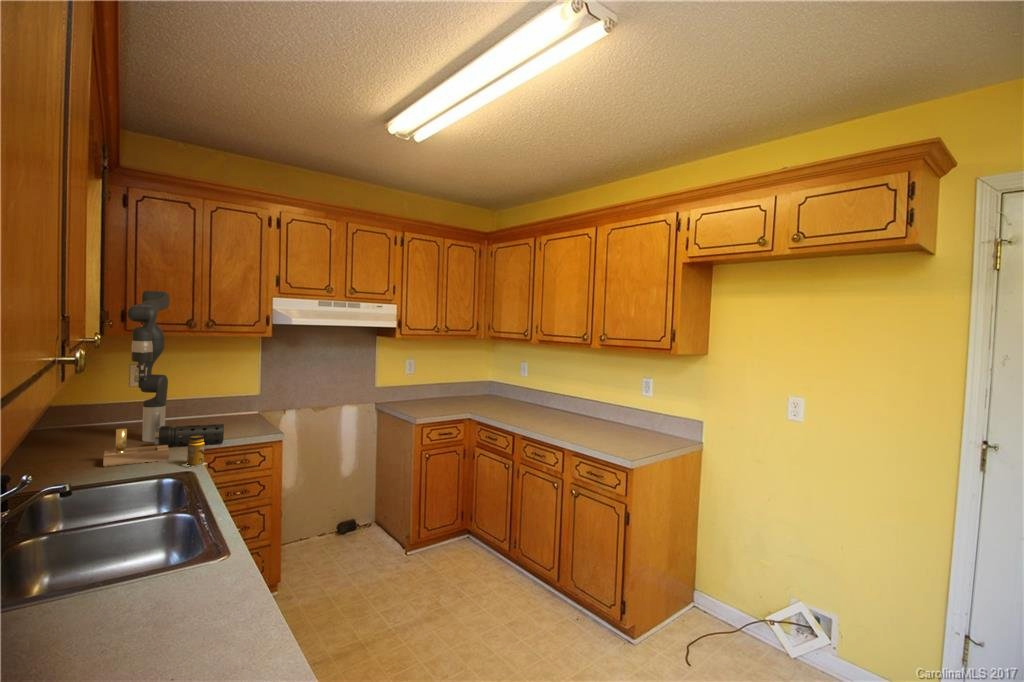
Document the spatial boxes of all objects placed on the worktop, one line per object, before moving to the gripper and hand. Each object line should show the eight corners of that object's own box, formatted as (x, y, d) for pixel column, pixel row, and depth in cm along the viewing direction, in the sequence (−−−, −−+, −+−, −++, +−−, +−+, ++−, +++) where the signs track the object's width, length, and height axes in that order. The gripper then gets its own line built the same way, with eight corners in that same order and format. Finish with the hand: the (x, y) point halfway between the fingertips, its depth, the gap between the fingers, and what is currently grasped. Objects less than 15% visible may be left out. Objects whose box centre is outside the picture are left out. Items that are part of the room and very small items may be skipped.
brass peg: (113, 461, 209) (114, 428, 208) (128, 460, 212) (129, 427, 211) (112, 464, 205) (113, 431, 204) (128, 463, 208) (129, 430, 208)
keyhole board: (104, 460, 210) (104, 450, 209) (167, 454, 223) (167, 444, 223) (103, 467, 200) (103, 456, 200) (168, 460, 214) (169, 450, 214)
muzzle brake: (222, 445, 244) (223, 425, 244) (153, 450, 230) (154, 428, 230) (223, 441, 252) (224, 421, 252) (156, 445, 238) (157, 424, 238)
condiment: (208, 463, 212) (209, 436, 212) (187, 468, 204) (188, 439, 204) (198, 461, 215) (199, 434, 215) (177, 465, 208) (178, 437, 208)
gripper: (131, 349, 223) (131, 384, 224) (131, 352, 212) (131, 389, 213) (152, 349, 228) (151, 384, 228) (153, 352, 216) (152, 388, 217)
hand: (141, 386), depth 220 cm, fingers open, 8 cm apart
